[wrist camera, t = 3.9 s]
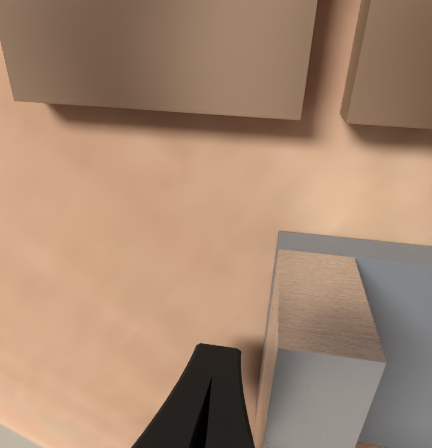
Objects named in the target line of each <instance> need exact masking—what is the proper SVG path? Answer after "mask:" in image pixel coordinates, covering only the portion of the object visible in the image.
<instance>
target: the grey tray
mask: <svg viewBox="0 0 432 448" xmlns="http://www.w3.org/2000/svg"><path fill="white" fill-rule="evenodd" d="M356 443H362V444H369V445H375V446H381V447H387V448H432V246H422V245H412V244H403V243H393V242H383V241H373V240H363V239H353V238H344V237H334V236H324V235H314V234H304V233H294V232H285V231H279V234H278V241H277V249H276V256H275V264H274V272H273V279H272V287H271V294H270V302H269V309H268V317H267V324H266V332H265V339H264V347H263V355H262V362H261V370H260V377H259V385H258V392H257V400H256V413H255V429H254V445H255V448H355V446H356Z"/></svg>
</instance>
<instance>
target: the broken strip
mask: <svg viewBox="0 0 432 448" xmlns="http://www.w3.org/2000/svg"><path fill="white" fill-rule="evenodd" d="M317 2H318V0H0V41H1V45H2V50H3V54H4V58H5V63H6V67H7V72H8V76H9V80H10V85H11V89H12V93H13V98H14V101H22V102H37V103H52V104H66V105H81V106H96V107H111V108H126V109H141V110H155V111H170V112H185V113H200V114H215V115H230V116H244V117H259V118H274V119H289V120H301V114H302V107H303V100H304V93H305V86H306V79H307V72H308V65H309V58H310V51H311V44H312V37H313V30H314V23H315V16H316V9H317ZM340 114H341V116H342V117H343V119H344V121H345V122H346V123H348V124H363V125H378V126H393V127H408V128H423V129H432V0H362V1H361V6H360V11H359V16H358V22H357V27H356V32H355V37H354V43H353V48H352V53H351V58H350V63H349V69H348V74H347V79H346V84H345V89H344V95H343V100H342V105H341V110H340Z"/></svg>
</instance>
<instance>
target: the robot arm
mask: <svg viewBox="0 0 432 448" xmlns="http://www.w3.org/2000/svg"><path fill="white" fill-rule="evenodd" d="M131 448H255V445H254V441H253V437H252V433H251V429H250V425H249V420H248V415H247V410H246V404H245V399H244V393H243V385H242V376H241V351H240V350H239V349H238V348H231V347H224V346H216V345H209V344H202V343H200V344H198V345H196V348H195V350H194V352H193V354H192V357H191V359H190V361H189V362H188V364H187V366H186V368H185V370H184V372H183V373H182V375H181V377H180V379H179V380H178V382H177V384H176V385H175V387H174V388H173V390H172V391H171V393H170V395H169V396H168V398H167V399H166V401H165V402H164V404H163V405H162V407H161V408H160V410H159V411H158V413H157V414H156V415H155V417H154V418H153V419H152V421H151V422H150V424H149V425H148V426H147V428H146V429H145V431H144V432H143V433H142V435H141V436H140V437H139V438H138V440H137V441H136V442H135V444H134V445H133V446H132V447H131Z"/></svg>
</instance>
